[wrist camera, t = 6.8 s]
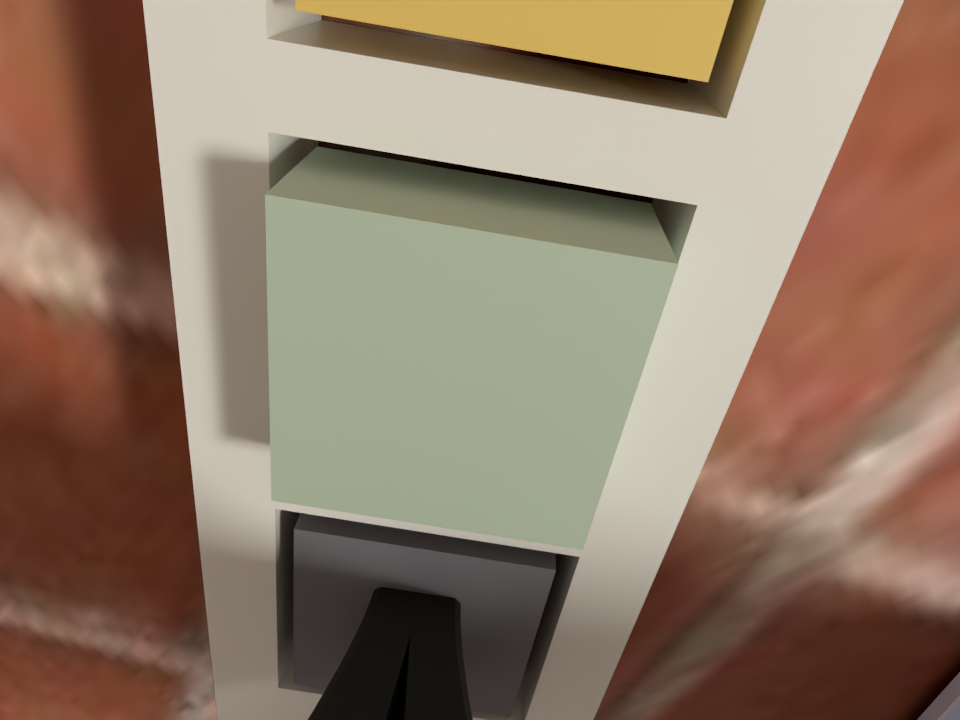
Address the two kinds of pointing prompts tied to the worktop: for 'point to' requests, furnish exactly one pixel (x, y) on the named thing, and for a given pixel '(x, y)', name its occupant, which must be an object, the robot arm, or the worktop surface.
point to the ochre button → (563, 27)
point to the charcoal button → (425, 569)
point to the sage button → (454, 343)
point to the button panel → (506, 148)
